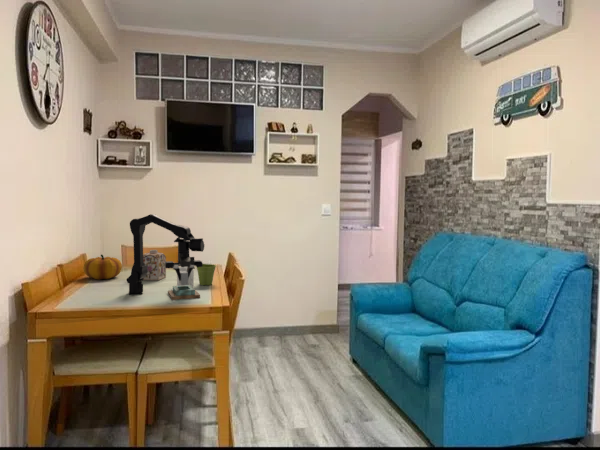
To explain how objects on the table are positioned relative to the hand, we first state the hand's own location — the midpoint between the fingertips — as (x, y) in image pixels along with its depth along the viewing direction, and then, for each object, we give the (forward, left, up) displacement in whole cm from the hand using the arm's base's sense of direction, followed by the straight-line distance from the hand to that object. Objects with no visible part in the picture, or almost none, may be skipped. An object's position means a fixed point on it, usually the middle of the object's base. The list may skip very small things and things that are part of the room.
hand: (183, 280), depth 236 cm
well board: (0, 0, -8) cm, 8 cm away
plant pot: (+17, +26, -8) cm, 32 cm away
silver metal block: (0, 0, -2) cm, 2 cm away
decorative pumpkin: (-39, +66, -8) cm, 77 cm away
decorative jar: (-10, +54, -8) cm, 56 cm away
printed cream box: (+4, +20, -8) cm, 22 cm away
